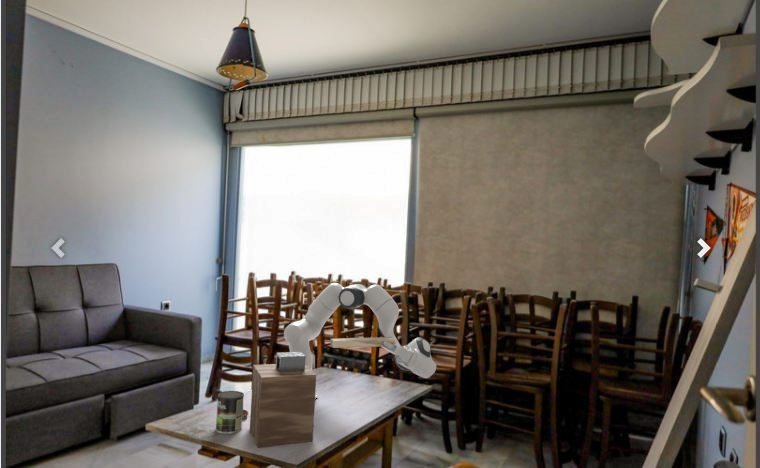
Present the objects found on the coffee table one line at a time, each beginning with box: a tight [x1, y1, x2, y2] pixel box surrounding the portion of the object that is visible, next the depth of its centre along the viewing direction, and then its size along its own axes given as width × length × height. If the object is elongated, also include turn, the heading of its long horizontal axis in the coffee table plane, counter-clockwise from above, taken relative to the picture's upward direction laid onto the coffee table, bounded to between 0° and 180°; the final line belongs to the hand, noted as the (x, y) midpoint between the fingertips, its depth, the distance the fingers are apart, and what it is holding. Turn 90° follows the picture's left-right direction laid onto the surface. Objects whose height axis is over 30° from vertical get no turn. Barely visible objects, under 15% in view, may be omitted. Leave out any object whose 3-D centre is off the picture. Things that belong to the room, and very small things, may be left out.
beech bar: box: [330, 336, 395, 349], centre depth 212 cm, size 4×28×3 cm, turn 113°
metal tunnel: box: [275, 351, 306, 372], centre depth 199 cm, size 8×10×6 cm
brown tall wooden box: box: [249, 363, 317, 449], centre depth 198 cm, size 20×21×26 cm
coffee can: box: [215, 390, 245, 435], centre depth 201 cm, size 10×10×14 cm
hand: (381, 340), depth 215 cm, fingers closed on beech bar, 4 cm apart
